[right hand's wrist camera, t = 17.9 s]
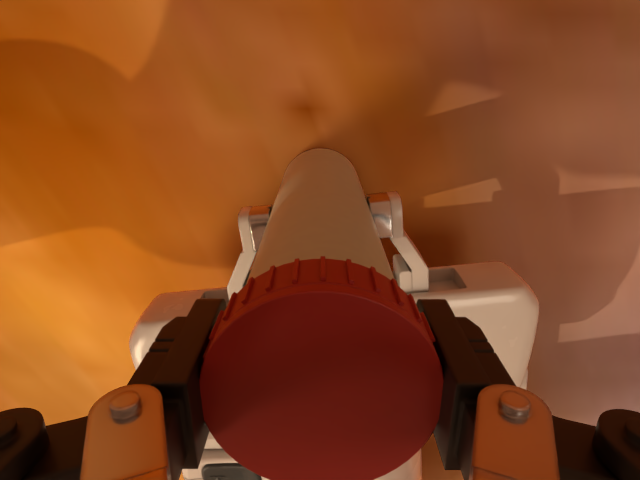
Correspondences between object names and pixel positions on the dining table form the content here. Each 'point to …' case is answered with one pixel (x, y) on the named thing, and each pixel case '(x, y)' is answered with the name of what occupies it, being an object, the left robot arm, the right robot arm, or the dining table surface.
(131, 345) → the left robot arm
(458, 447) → the right robot arm
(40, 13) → the dining table surface
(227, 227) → the dining table surface
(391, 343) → the lid
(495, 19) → the dining table surface
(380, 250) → the jar
